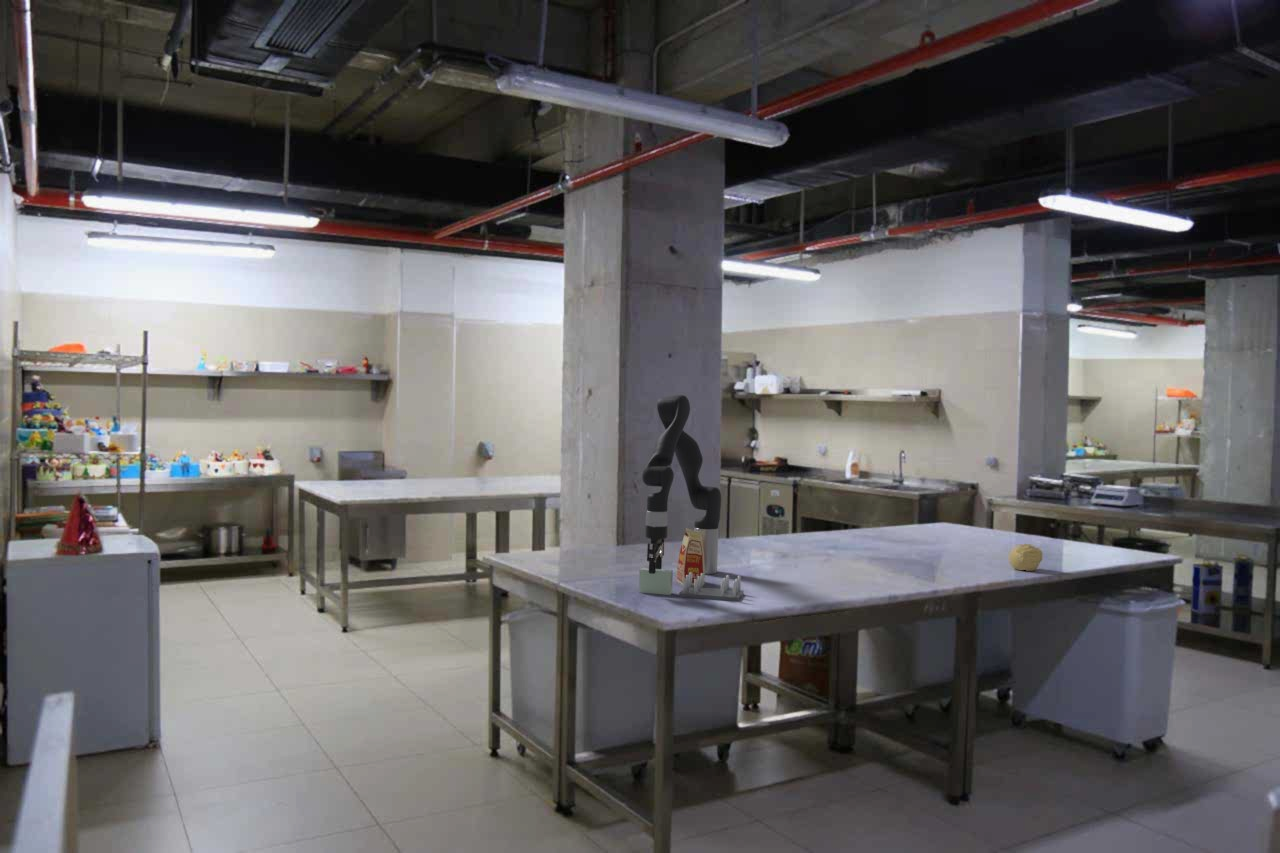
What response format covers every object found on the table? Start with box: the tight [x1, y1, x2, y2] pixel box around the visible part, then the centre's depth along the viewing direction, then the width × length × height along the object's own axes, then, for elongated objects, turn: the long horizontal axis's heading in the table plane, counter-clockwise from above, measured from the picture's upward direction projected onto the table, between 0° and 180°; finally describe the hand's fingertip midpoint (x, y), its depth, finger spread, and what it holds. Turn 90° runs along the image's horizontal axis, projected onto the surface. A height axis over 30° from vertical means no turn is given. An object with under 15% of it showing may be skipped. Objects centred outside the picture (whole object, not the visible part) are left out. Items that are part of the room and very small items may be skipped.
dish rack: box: [678, 572, 744, 602], centre depth 306 cm, size 12×20×6 cm, turn 75°
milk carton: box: [676, 527, 706, 586], centre depth 327 cm, size 9×9×20 cm
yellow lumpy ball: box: [1008, 543, 1044, 572], centre depth 370 cm, size 11×12×11 cm
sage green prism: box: [638, 567, 674, 596], centre depth 308 cm, size 3×11×8 cm, turn 75°
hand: (655, 571), depth 308 cm, fingers open, 8 cm apart
